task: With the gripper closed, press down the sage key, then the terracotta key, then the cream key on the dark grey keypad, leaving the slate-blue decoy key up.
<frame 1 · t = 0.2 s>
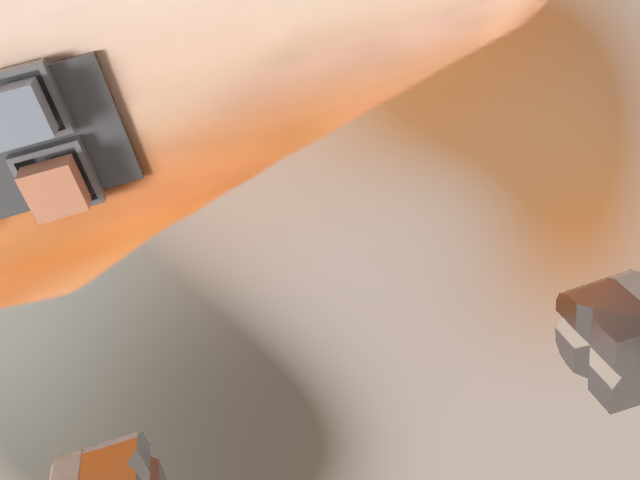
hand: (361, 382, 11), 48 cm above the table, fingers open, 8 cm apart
terracotta key: (54, 189, 53), point 4 cm above the table, slide at 0.0 cm
slate key: (17, 114, 49), point 4 cm above the table, slide at 0.0 cm
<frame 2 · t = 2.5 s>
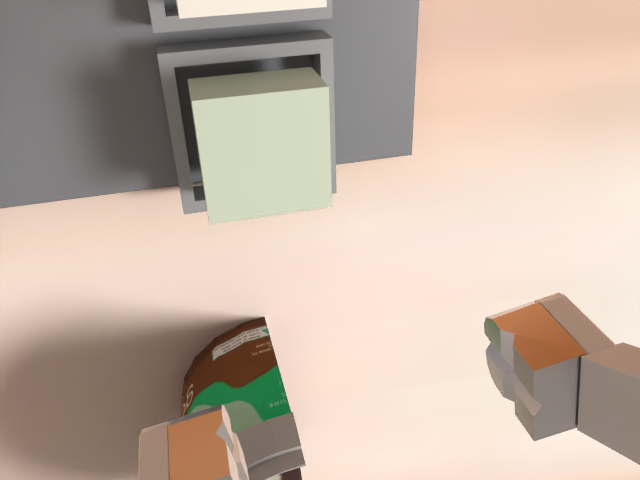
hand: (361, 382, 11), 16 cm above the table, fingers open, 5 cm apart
food container: (218, 394, 33), on the table
keypad base: (45, 39, 22), on the table
sage key: (261, 144, 22), point 4 cm above the table, slide at 0.0 cm
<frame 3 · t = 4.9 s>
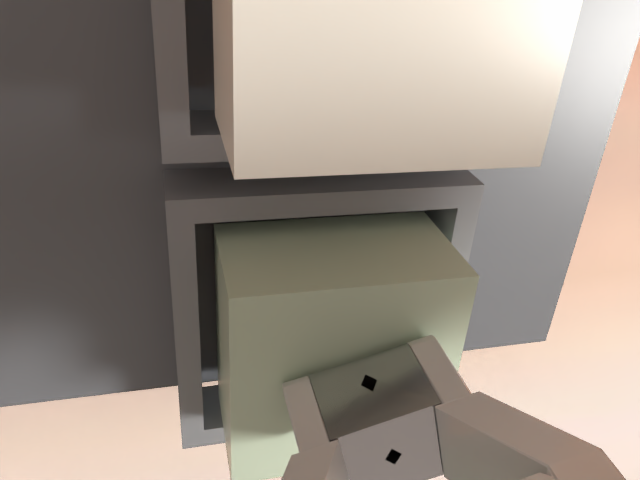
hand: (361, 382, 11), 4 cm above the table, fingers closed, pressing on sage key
sage key: (331, 342, 13), point 3 cm above the table, slide at 0.9 cm, touching gripper
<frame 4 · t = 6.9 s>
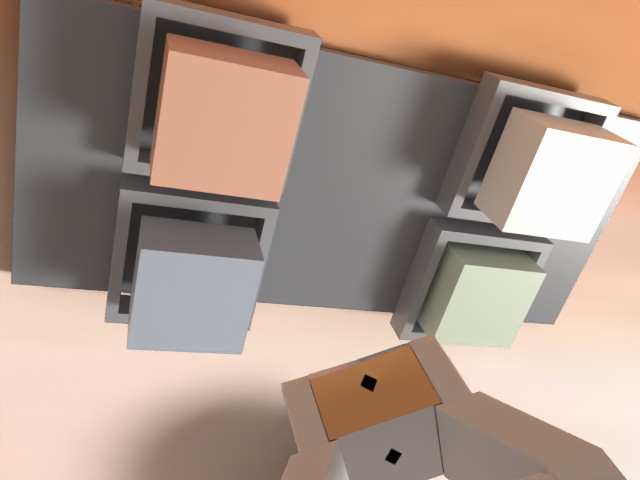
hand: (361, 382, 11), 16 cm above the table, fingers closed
terracotta key: (224, 119, 21), point 4 cm above the table, slide at 0.0 cm
keypad base: (352, 191, 28), on the table
slate key: (192, 286, 24), point 4 cm above the table, slide at 0.0 cm
cream key: (551, 176, 26), point 4 cm above the table, slide at 0.0 cm
sage key: (476, 293, 30), point 2 cm above the table, slide at 1.4 cm
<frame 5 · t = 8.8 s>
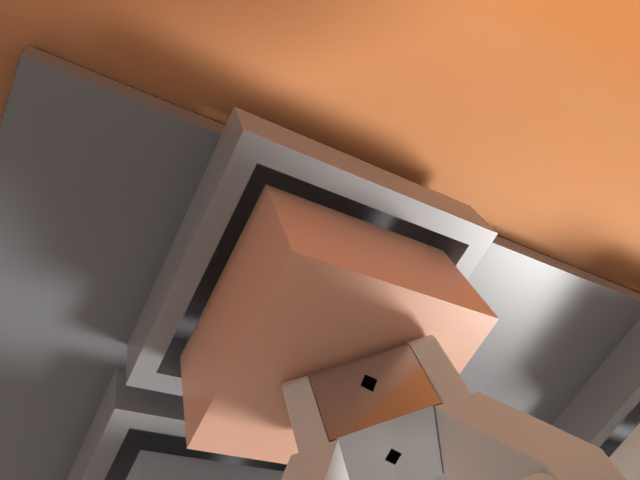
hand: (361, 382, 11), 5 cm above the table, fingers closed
terracotta key: (327, 339, 12), point 3 cm above the table, slide at 0.4 cm, touching gripper
keypad base: (437, 407, 19), on the table
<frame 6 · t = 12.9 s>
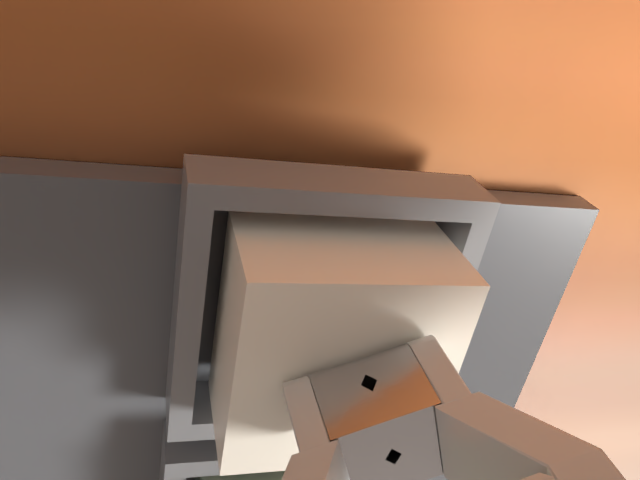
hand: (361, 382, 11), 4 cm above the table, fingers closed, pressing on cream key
cream key: (332, 340, 13), point 3 cm above the table, slide at 1.0 cm, touching gripper
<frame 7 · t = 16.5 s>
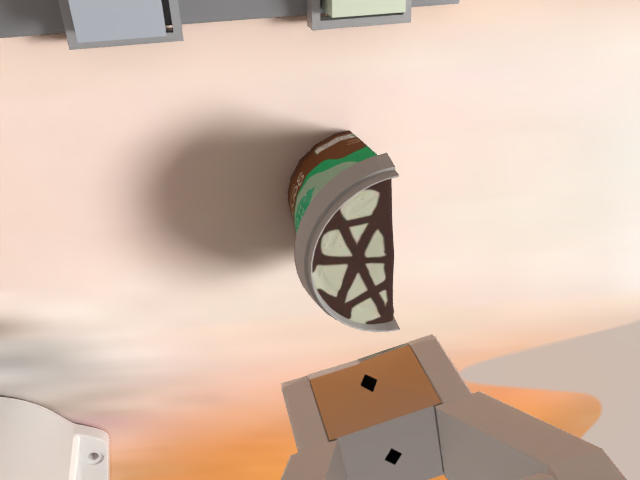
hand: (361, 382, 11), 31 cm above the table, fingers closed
food container: (312, 195, 45), on the table
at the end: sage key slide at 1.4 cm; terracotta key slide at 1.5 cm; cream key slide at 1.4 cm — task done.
